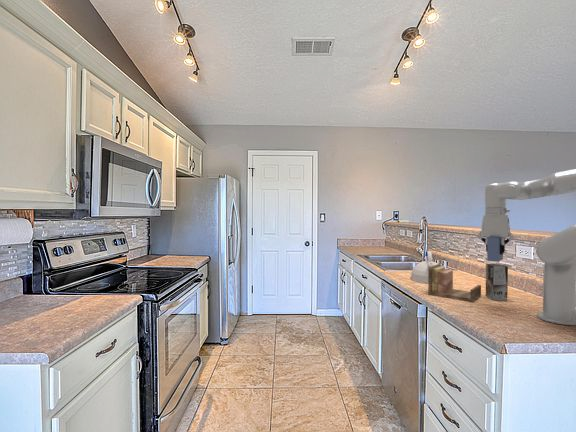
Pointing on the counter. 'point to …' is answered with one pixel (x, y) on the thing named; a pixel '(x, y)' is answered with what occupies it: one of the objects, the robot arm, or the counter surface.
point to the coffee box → (497, 281)
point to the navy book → (494, 249)
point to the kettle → (422, 269)
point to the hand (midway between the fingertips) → (495, 253)
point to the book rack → (448, 285)
